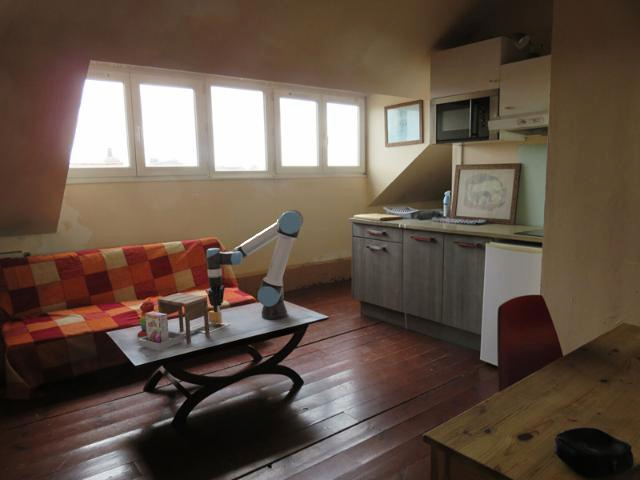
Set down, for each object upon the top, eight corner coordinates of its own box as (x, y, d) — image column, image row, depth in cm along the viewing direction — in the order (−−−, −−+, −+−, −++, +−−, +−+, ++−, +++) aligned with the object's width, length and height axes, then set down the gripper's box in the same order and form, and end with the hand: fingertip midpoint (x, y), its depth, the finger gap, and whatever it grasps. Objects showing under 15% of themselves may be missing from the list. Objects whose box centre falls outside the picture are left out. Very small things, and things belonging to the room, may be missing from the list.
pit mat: (229, 324, 252) (229, 323, 252) (207, 333, 238) (207, 333, 238) (209, 320, 261) (209, 320, 260) (186, 329, 246) (186, 328, 246)
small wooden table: (209, 335, 236) (207, 297, 233) (188, 343, 224) (185, 303, 221) (181, 329, 247) (179, 292, 244) (160, 337, 235) (157, 298, 232)
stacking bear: (144, 329, 248) (141, 298, 246) (162, 329, 248) (160, 297, 246) (136, 336, 238) (133, 303, 235) (155, 336, 237) (152, 303, 235)
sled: (226, 323, 250) (225, 313, 250) (159, 350, 213) (158, 338, 212) (207, 320, 258) (206, 309, 258) (139, 345, 221) (137, 333, 220)
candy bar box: (146, 345, 223) (144, 313, 221) (155, 342, 228) (152, 310, 225) (161, 349, 217) (159, 316, 215) (170, 346, 222) (167, 313, 219)
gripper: (218, 273, 259) (220, 313, 262) (201, 277, 248) (204, 319, 251) (227, 274, 255) (230, 314, 258) (211, 278, 244) (214, 321, 247)
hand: (217, 316), depth 255 cm, fingers closed
